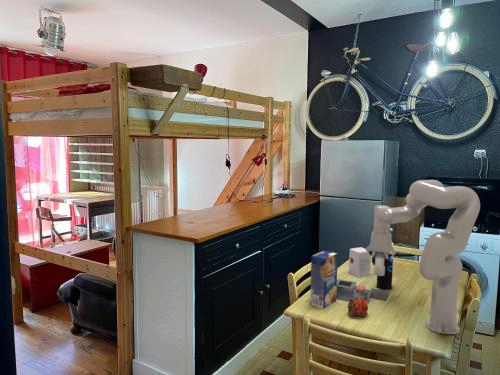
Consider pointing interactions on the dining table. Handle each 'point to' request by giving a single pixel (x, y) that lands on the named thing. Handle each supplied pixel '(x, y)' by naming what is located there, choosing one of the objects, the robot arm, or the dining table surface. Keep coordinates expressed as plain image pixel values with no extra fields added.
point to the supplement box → (359, 262)
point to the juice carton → (323, 279)
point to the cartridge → (379, 265)
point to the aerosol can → (386, 276)
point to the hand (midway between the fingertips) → (379, 264)
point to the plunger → (360, 289)
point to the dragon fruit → (358, 306)
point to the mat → (380, 294)
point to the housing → (350, 291)
